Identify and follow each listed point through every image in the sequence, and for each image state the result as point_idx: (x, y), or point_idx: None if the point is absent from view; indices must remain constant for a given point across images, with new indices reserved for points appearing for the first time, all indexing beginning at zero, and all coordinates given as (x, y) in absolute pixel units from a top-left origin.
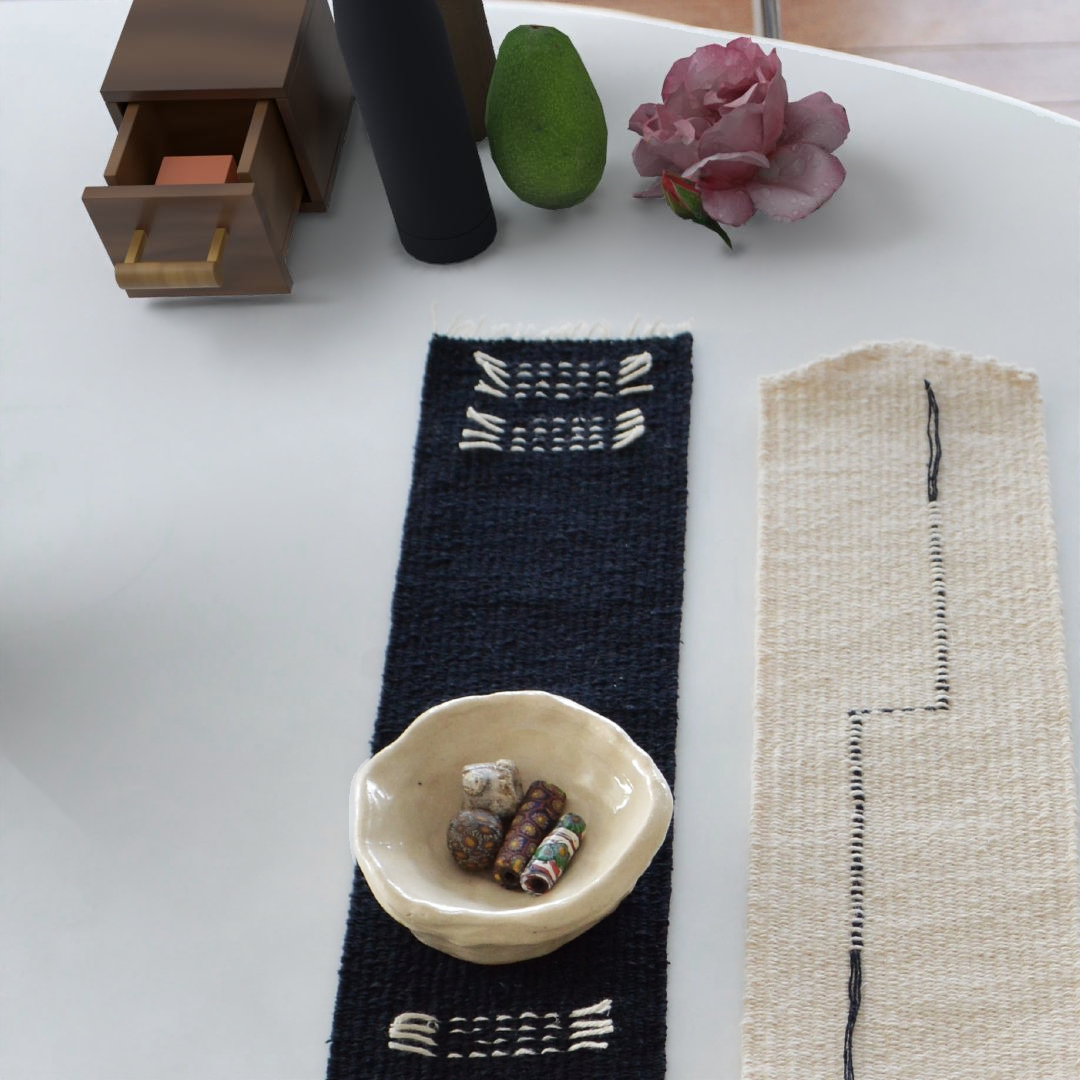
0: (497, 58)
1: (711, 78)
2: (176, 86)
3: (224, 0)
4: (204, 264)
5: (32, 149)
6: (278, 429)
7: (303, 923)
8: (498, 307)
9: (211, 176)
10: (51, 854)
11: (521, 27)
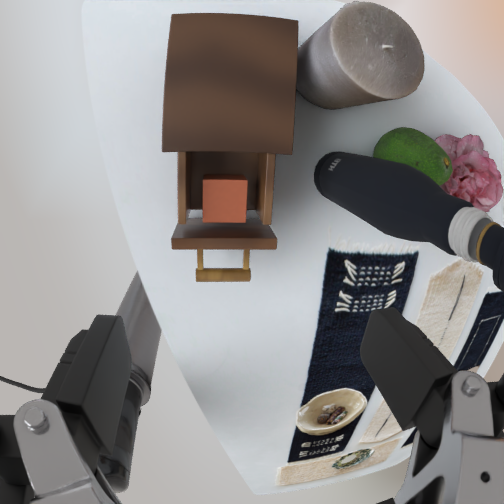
0: (418, 164)
1: (473, 161)
2: (216, 148)
3: (236, 48)
4: (245, 278)
5: (98, 92)
6: (263, 303)
7: (284, 435)
8: (356, 231)
9: (237, 201)
10: (221, 429)
11: (441, 166)
